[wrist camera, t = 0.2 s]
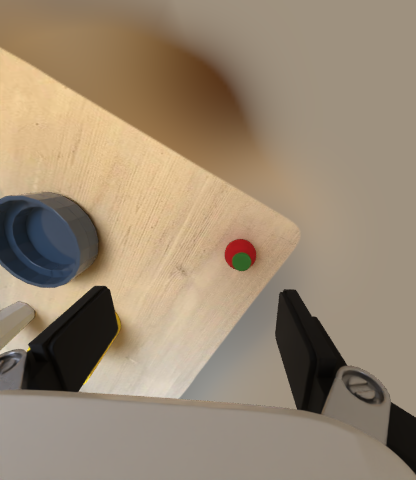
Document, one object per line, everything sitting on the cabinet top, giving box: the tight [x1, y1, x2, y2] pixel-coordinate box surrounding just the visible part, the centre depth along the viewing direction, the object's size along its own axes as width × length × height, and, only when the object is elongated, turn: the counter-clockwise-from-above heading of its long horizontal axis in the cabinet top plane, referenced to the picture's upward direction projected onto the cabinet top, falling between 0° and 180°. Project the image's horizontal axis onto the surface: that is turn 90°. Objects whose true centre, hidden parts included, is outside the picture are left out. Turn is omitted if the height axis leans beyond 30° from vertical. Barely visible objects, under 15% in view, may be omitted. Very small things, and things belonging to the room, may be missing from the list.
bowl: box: [0, 192, 98, 288], centre depth 31 cm, size 14×14×5 cm
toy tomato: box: [225, 239, 256, 271], centre depth 29 cm, size 5×5×5 cm
